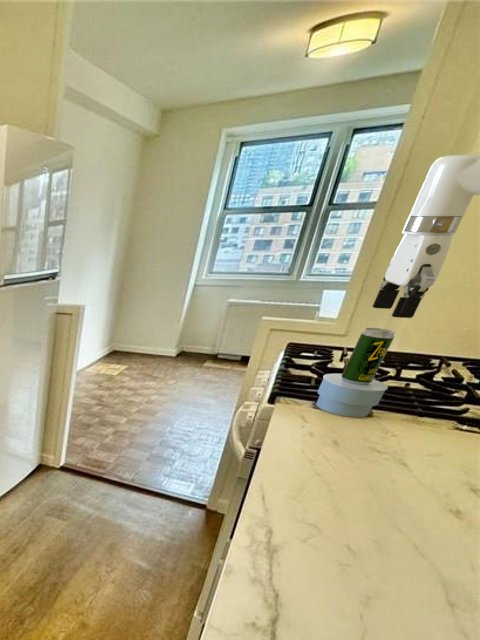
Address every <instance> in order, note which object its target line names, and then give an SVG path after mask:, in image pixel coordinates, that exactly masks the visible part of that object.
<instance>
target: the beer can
mask: <svg viewBox="0 0 480 640" xmlns="http://www.w3.org/2000/svg"><path fill="white" fill-rule="evenodd" d="M395 333H396V332H395V331H394V330H391V329H386V328H378V327H366V328H364V330H363V331H362V332H361V333H360V336H359V337H358V340H357V342H356V344H355V346H354V349H353V350H352V352H351V354H350V357H349V359H348V361H347V363H346V365H345V367H344V369H343V371H342V373H341V374H342V376H341V377H342V380H343V381H344V382H347V383H351V384H356V385H368V384H369V383H371V382H372V380H374V378H375V376H376V375H377V372H378V371H379V369H380V367H381V364H382V363H383V361H384V359H385V356H386V354H387V353H388V350H389V349H390V347H391V345H392V342H393V340H394V339H395Z"/></svg>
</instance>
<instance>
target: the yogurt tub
mask: <svg viewBox="0 0 480 640" xmlns="http://www.w3.org/2000/svg"><path fill="white" fill-rule="evenodd" d="M342 374H343V373H326V374H324V375H323V377H322V381H321V383H320V385H319V387H318V390H317V394H318V395H319V396H318V399H317V400H316V402H315V406H316V407H317V408H319V409H321V410H322V411H325V412H327V413H330V414H334V415H338V416H341V417H343V416H344V417H349V418H350V417H351V418H365V417H367V416H369V414H370V412H371V410H372V408H373V407H375V406H378V405H379V403H380V401H381V399H382V398H383V395H384V394H385V392H386V391H387V390H388V388H389V387H388V385H387V384H385V383H383V382H382V381H380V380H376V379H373V380H372V382H371V383H369V384H368V385H356V384H351V383H347V382H344V381H343V380H342V377H341V376H342Z"/></svg>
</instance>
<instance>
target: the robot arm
mask: <svg viewBox="0 0 480 640" xmlns="http://www.w3.org/2000/svg"><path fill="white" fill-rule="evenodd" d="M474 196H480V153H470V154H453V155H452V154H451V155H444V156H441V157H439V158H437V159H436V160H434V162H433V163H432V164H431V166H430V168H429V170H428V173H427V175H426V177H425V179H424V181H423V184H422V186H421V188H420V190H419V193H418V195H417V197H416V200H415V202H414V205H413V207H412V209H411V211H410V212H409V213H410V214H409V216H408V218H407V220H406V222H405V225H404V227H403V229H402V231H401V234H402V235H403V237H402V239H401V241H400V243H399V244H398V246H397V248H396V250H395V252H394V255H393V256H392V258H391V260H390V262H389V264H388V266H387V268H386V271H385V274H384V276H383V278H382V280H383V282H382V283H381V284H380V287H379V290H378V292H377V295H376V297H375V299H374V302H373V304H372V308H373V309H385V310H386V309H387V310H389V309H392V308H393V306H394V303H395V302H396V300H397V297H398V296H399V293H400V289H399V288H400V287H403V295H402V296H400V297H399V299H398V300H397V303H396V305H395V306H394V309H393V311H392V313H391V317H393V318H399V319H401V318H402V319H403V318H404V319H412V318H413V317H414V316H415V313H416V311H417V309H418V308H419V305H420V304H421V301H422V300H423V298H424V297H425V295H426V293H427V292H428V291H429V290H430V289H429V288H431V287H432V286H434V285H435V283H436V281H437V279H438V276H439V274H440V273H441V270H442V268H443V265H444V262H445V260H446V258H447V256H448V252H449V250H450V248H451V247H450V246H451V243H452V239H453V236H454V235H455V234H456V232H457V230H458V228H459V226H460V224H461V223H462V221H463V218H464V216H465V214H466V211H467V209H468V208H469V205H470V203H471V201H472V200H473V197H474Z"/></svg>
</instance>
